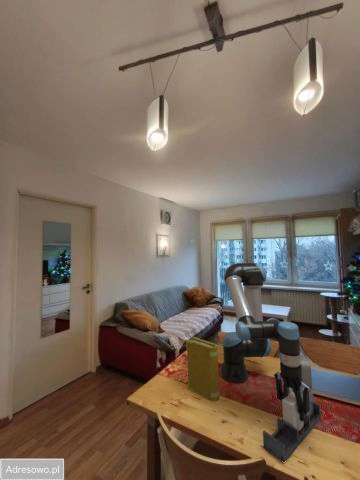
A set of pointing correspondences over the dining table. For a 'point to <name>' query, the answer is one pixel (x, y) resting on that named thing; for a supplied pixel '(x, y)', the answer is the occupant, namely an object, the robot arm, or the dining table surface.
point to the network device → (305, 372)
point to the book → (203, 368)
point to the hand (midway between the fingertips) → (293, 424)
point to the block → (290, 410)
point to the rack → (291, 432)
